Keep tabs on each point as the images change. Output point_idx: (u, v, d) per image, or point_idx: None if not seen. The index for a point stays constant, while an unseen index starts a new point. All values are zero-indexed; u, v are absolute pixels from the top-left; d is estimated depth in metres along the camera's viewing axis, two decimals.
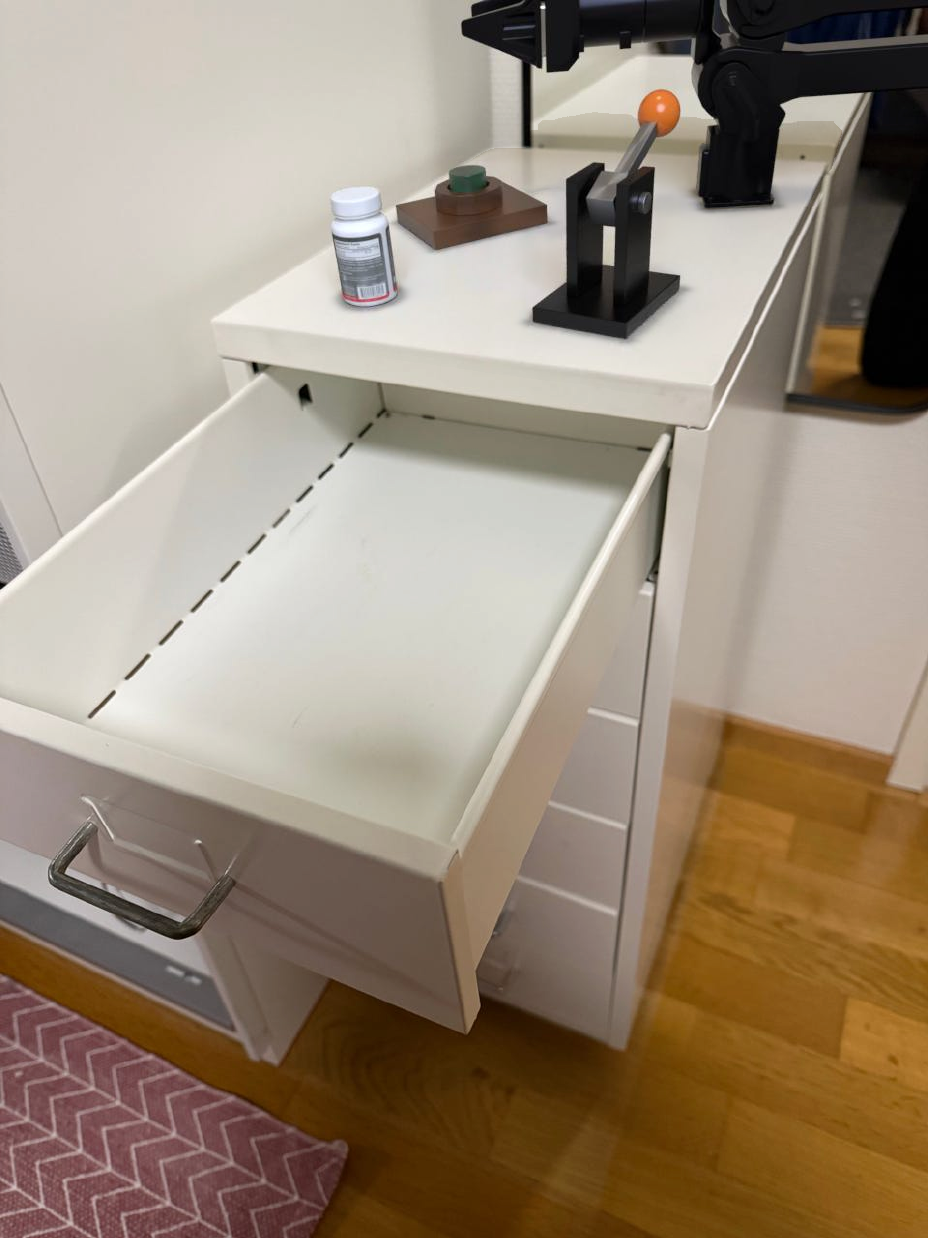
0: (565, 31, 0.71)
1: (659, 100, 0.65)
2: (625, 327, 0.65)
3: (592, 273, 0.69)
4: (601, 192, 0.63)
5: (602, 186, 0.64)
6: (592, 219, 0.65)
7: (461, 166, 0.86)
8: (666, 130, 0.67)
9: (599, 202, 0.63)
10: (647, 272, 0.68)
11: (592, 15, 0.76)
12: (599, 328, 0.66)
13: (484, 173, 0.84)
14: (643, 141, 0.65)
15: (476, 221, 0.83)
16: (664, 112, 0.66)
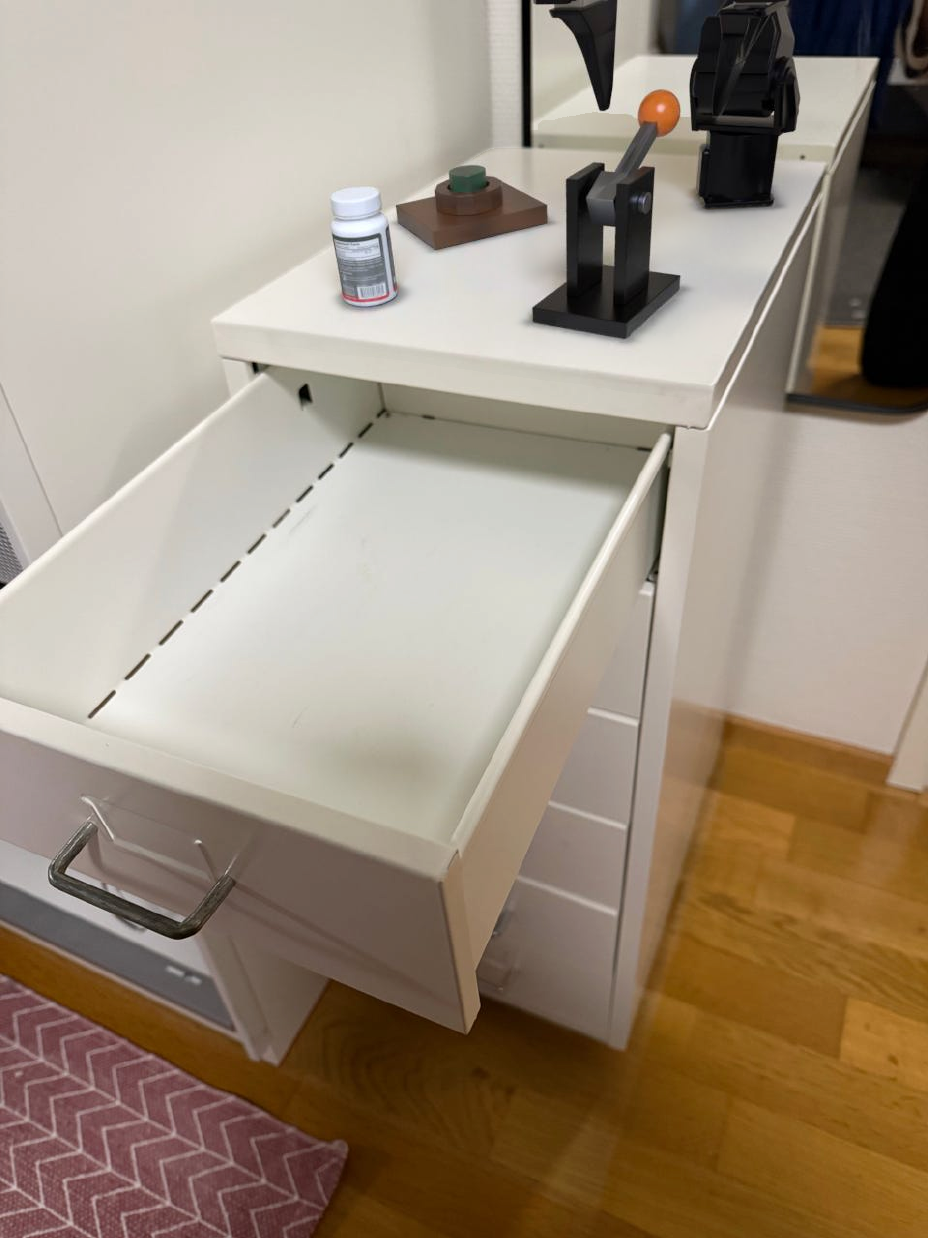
0: None
1: (659, 100, 0.65)
2: (625, 327, 0.65)
3: (592, 273, 0.69)
4: (601, 192, 0.63)
5: (602, 186, 0.64)
6: (592, 219, 0.65)
7: (461, 166, 0.86)
8: (666, 130, 0.67)
9: (599, 202, 0.63)
10: (647, 272, 0.68)
11: None
12: (599, 328, 0.66)
13: (484, 173, 0.84)
14: (643, 141, 0.65)
15: (476, 221, 0.83)
16: (664, 112, 0.66)
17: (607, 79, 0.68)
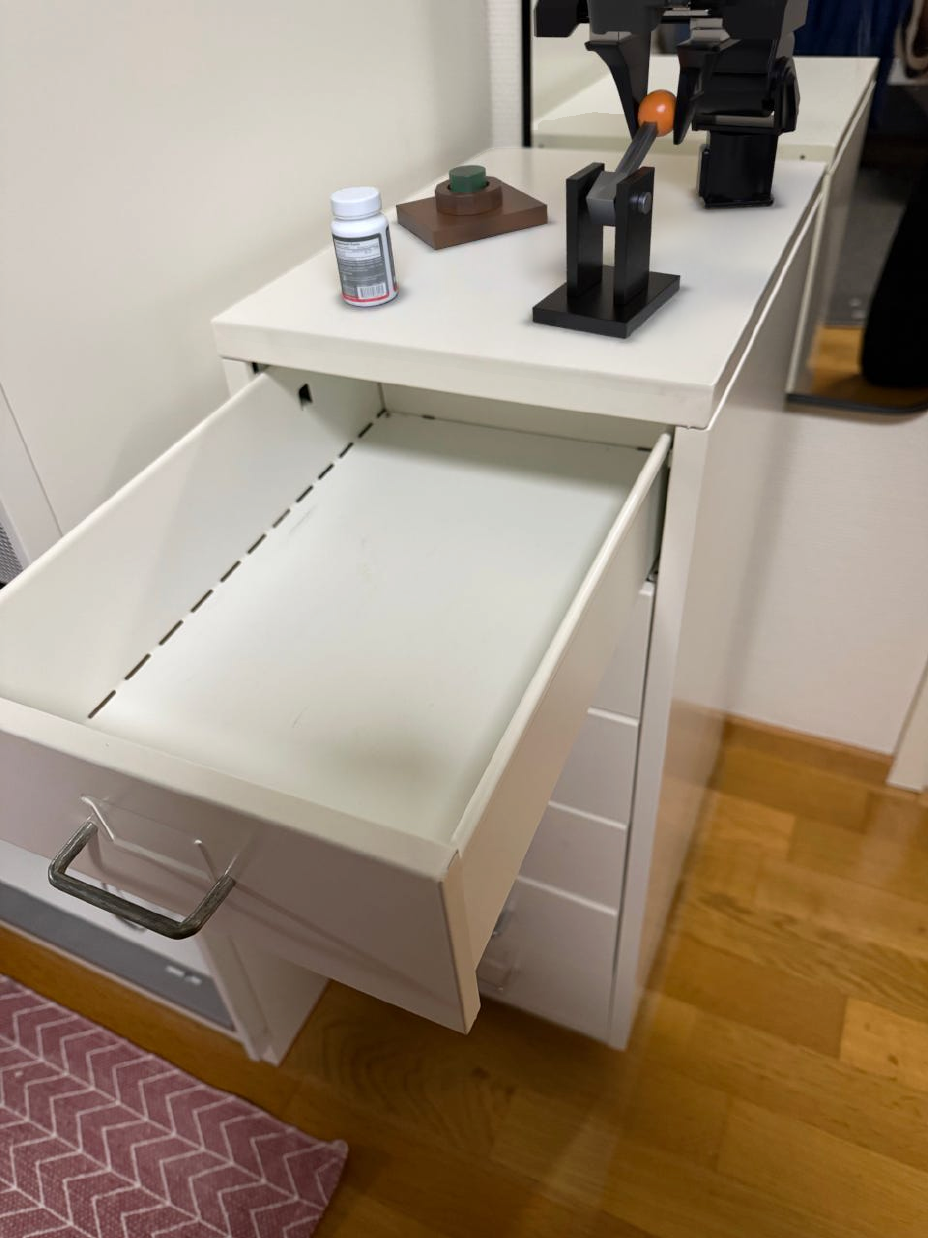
0: (798, 1, 0.58)
1: (659, 100, 0.65)
2: (625, 327, 0.65)
3: (592, 273, 0.69)
4: (601, 192, 0.63)
5: (602, 186, 0.64)
6: (592, 219, 0.65)
7: (461, 166, 0.86)
8: (666, 130, 0.67)
9: (599, 202, 0.63)
10: (647, 272, 0.68)
11: None
12: (599, 328, 0.66)
13: (484, 173, 0.84)
14: (643, 141, 0.65)
15: (476, 221, 0.83)
16: (664, 112, 0.66)
17: None
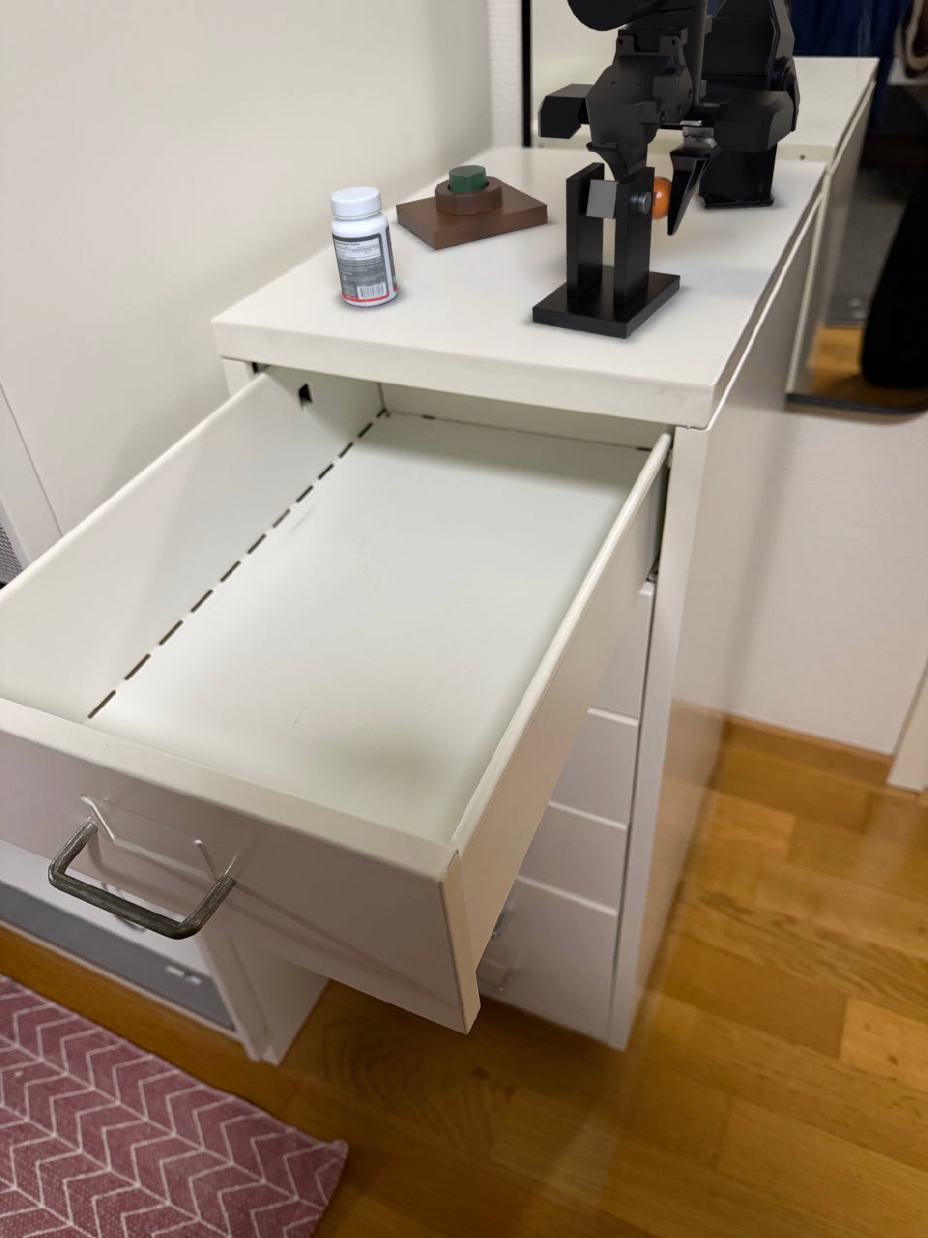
0: (783, 115, 0.63)
1: (662, 178, 0.70)
2: (625, 327, 0.65)
3: (592, 273, 0.69)
4: None
5: (607, 180, 0.64)
6: (589, 208, 0.64)
7: (461, 166, 0.86)
8: (662, 206, 0.70)
9: (603, 185, 0.63)
10: (647, 272, 0.68)
11: (699, 77, 0.64)
12: (599, 328, 0.66)
13: (484, 173, 0.84)
14: None
15: (476, 221, 0.83)
16: (665, 187, 0.70)
17: None
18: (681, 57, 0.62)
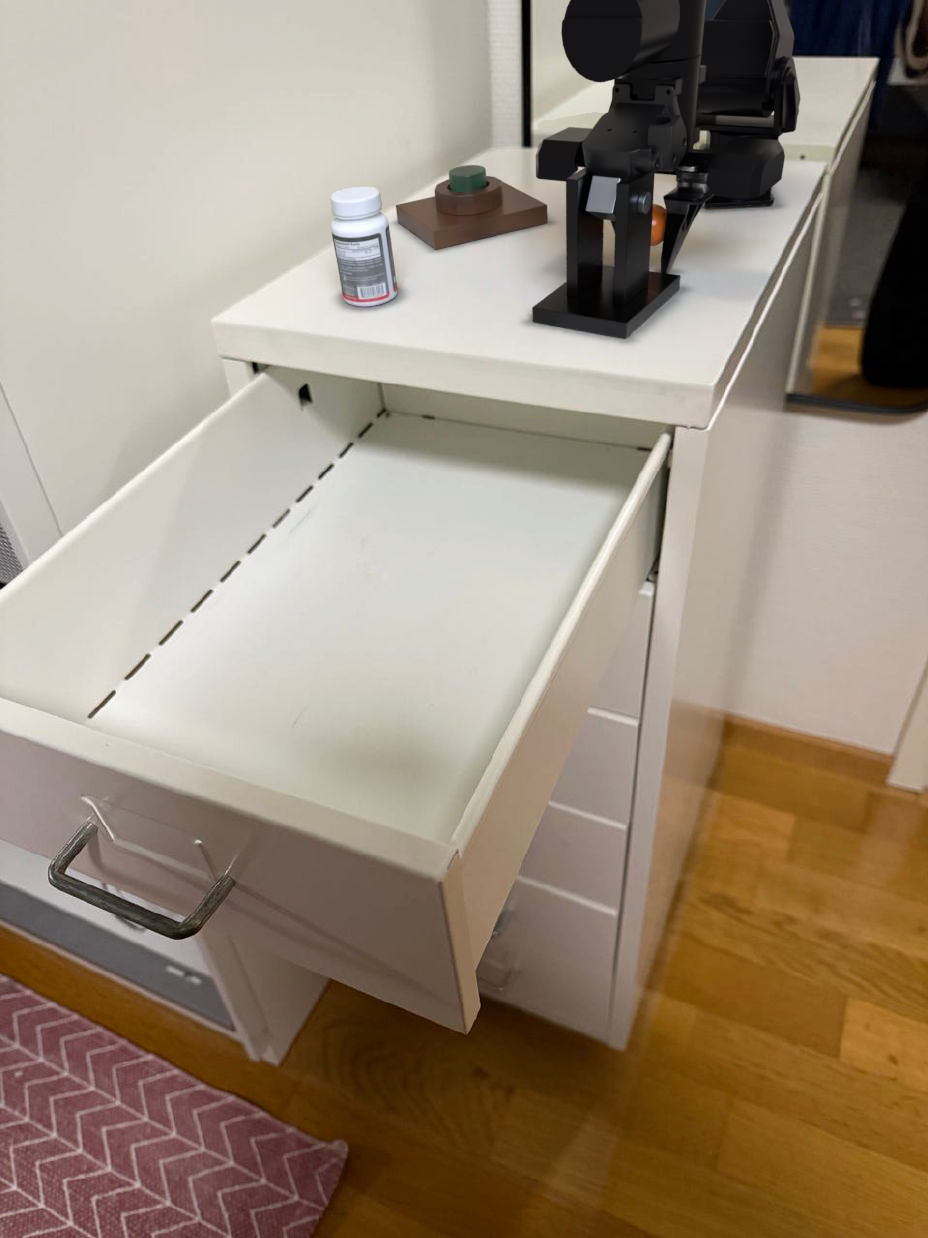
0: (775, 163, 0.64)
1: (658, 205, 0.71)
2: (625, 327, 0.65)
3: (592, 273, 0.69)
4: None
5: None
6: (589, 203, 0.64)
7: (461, 166, 0.86)
8: (656, 230, 0.71)
9: (605, 181, 0.63)
10: (647, 272, 0.68)
11: (693, 124, 0.66)
12: (599, 328, 0.66)
13: (484, 173, 0.84)
14: None
15: (476, 221, 0.83)
16: (660, 213, 0.71)
17: None
18: (676, 106, 0.63)
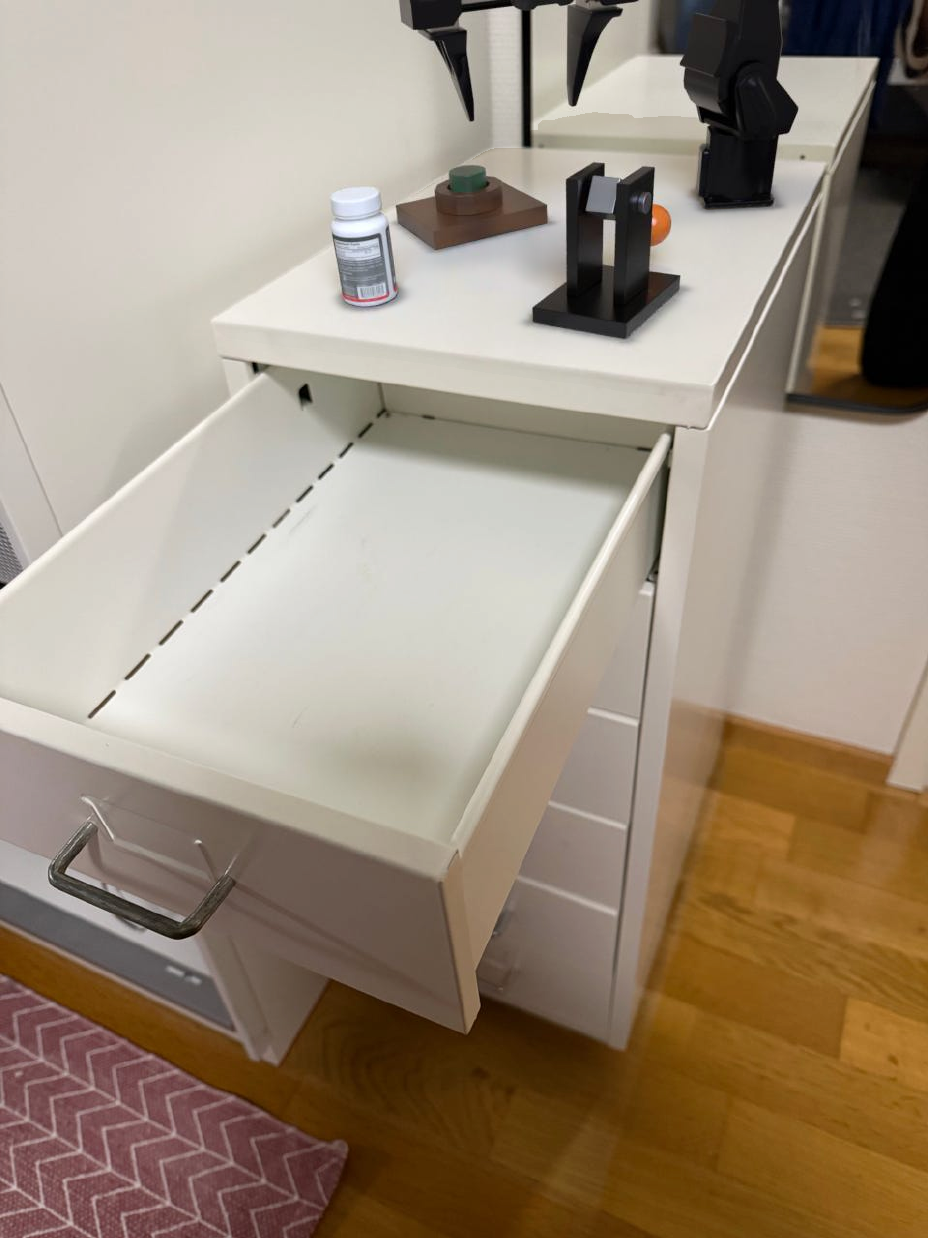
0: None
1: (658, 205, 0.71)
2: (625, 327, 0.65)
3: (592, 273, 0.69)
4: None
5: None
6: (589, 203, 0.64)
7: (461, 166, 0.86)
8: (656, 230, 0.71)
9: (605, 181, 0.63)
10: (647, 272, 0.68)
11: None
12: (599, 328, 0.66)
13: (484, 173, 0.84)
14: None
15: (476, 221, 0.83)
16: (660, 213, 0.71)
17: None
18: None
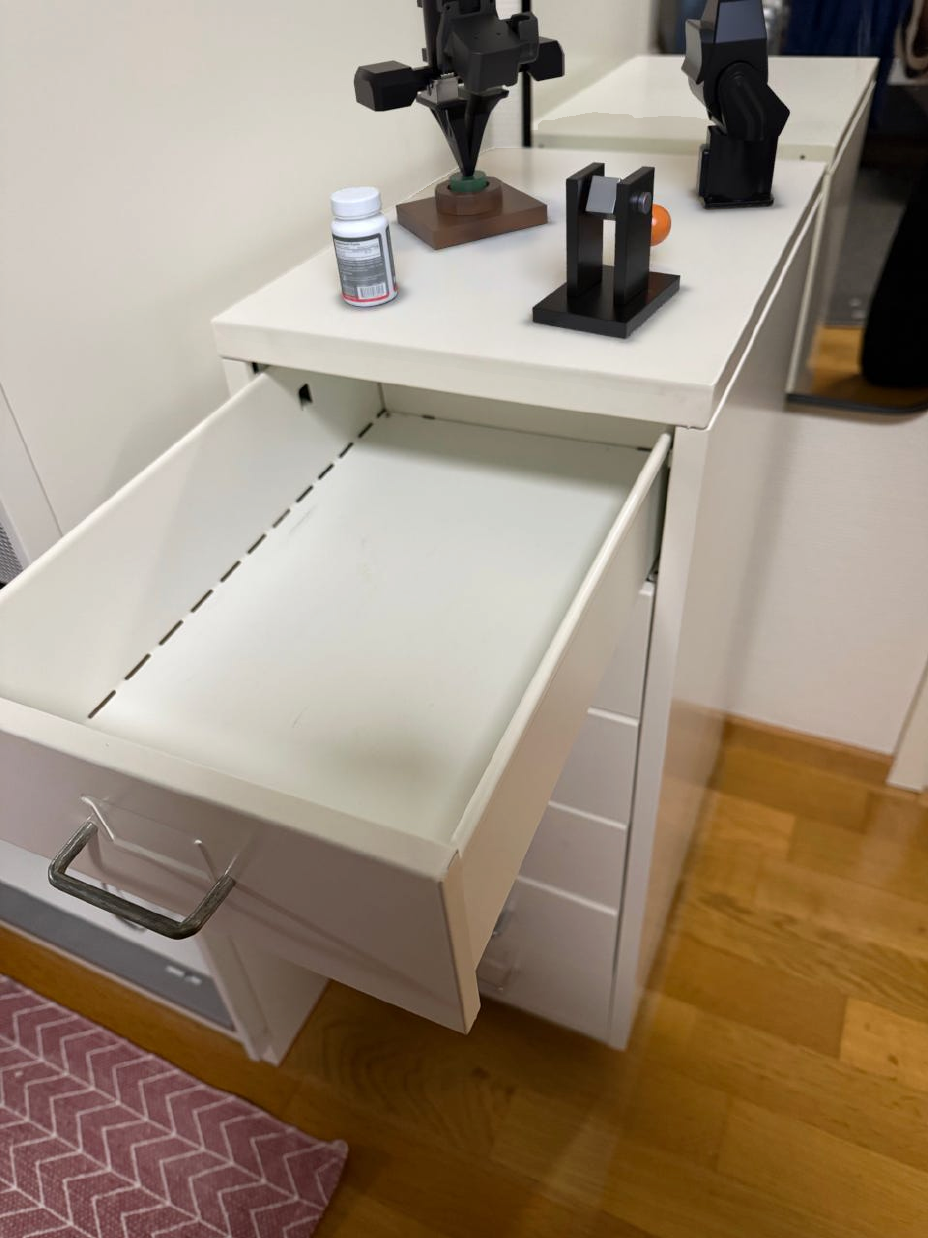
0: None
1: (658, 205, 0.71)
2: (625, 327, 0.65)
3: (592, 273, 0.69)
4: None
5: None
6: (589, 203, 0.64)
7: None
8: (656, 230, 0.71)
9: (605, 181, 0.63)
10: (647, 272, 0.68)
11: None
12: (599, 328, 0.66)
13: (484, 178, 0.84)
14: None
15: (476, 221, 0.83)
16: (660, 213, 0.71)
17: None
18: None
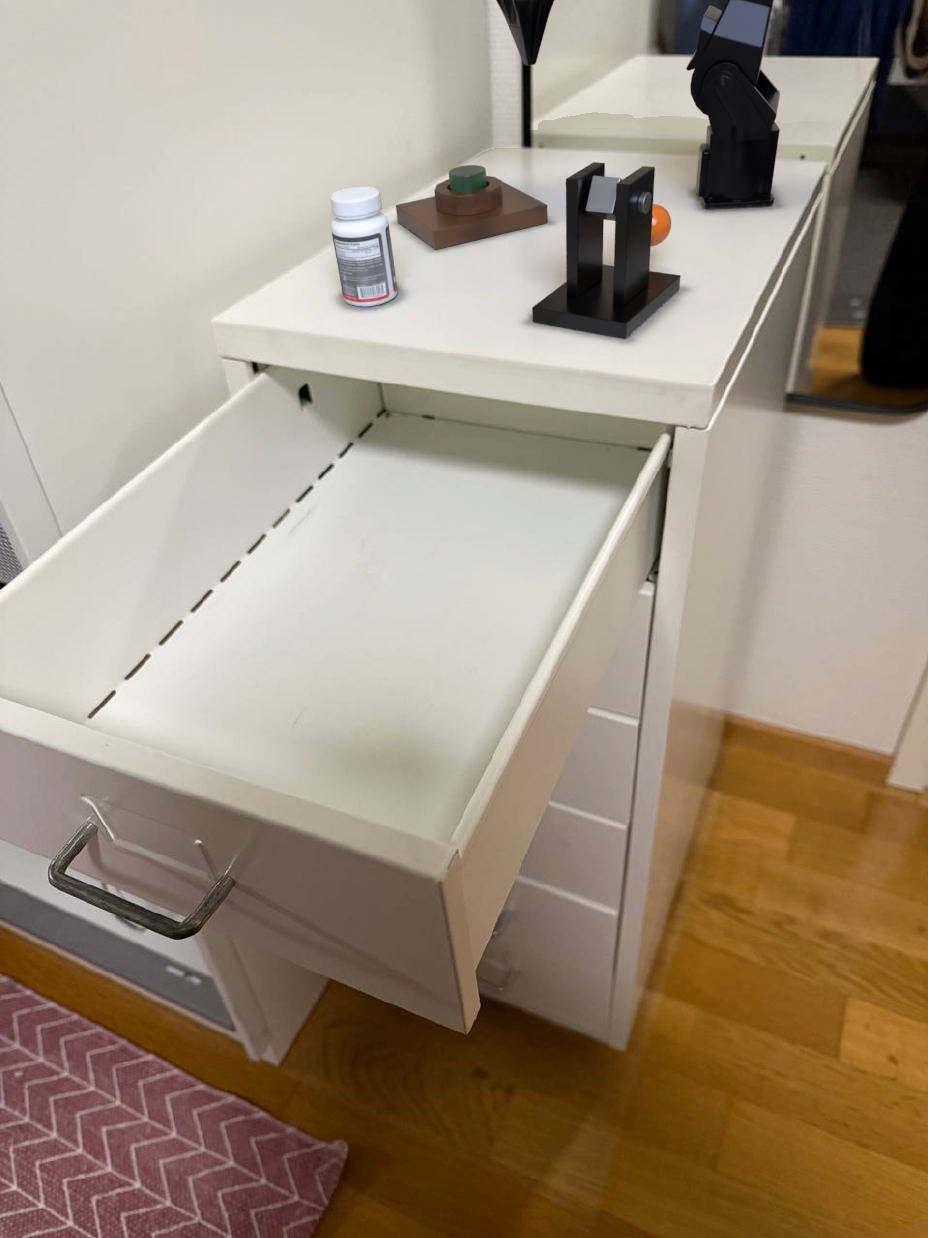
0: None
1: (658, 205, 0.71)
2: (625, 327, 0.65)
3: (592, 273, 0.69)
4: None
5: None
6: (589, 203, 0.64)
7: (461, 166, 0.86)
8: (656, 230, 0.71)
9: (605, 181, 0.63)
10: (647, 272, 0.68)
11: None
12: (599, 328, 0.66)
13: (484, 173, 0.84)
14: None
15: (476, 221, 0.83)
16: (660, 213, 0.71)
17: None
18: None
